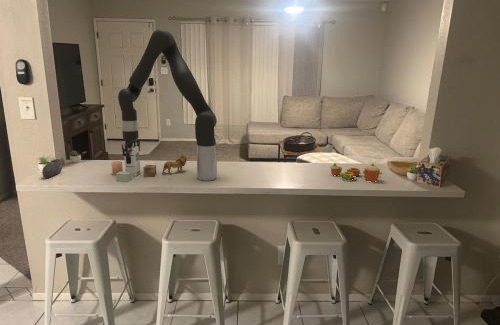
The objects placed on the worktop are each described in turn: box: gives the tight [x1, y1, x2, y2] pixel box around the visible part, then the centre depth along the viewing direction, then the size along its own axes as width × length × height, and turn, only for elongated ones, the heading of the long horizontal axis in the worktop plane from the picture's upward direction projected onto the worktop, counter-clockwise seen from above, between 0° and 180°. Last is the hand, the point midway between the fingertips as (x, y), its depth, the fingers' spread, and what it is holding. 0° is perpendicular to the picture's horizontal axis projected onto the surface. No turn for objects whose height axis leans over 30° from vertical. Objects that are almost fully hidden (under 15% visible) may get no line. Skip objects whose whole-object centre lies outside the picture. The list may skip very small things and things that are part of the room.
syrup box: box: [123, 146, 141, 177], centre depth 181 cm, size 6×6×14 cm
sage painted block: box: [115, 170, 133, 183], centre depth 172 cm, size 6×4×4 cm, turn 80°
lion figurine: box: [161, 154, 188, 175], centre depth 186 cm, size 15×5×9 cm, turn 131°
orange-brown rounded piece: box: [111, 160, 124, 176], centre depth 182 cm, size 5×5×6 cm
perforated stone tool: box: [41, 158, 63, 179], centre depth 177 cm, size 15×5×7 cm, turn 179°
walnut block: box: [142, 164, 157, 178], centre depth 181 cm, size 5×5×5 cm
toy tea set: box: [329, 162, 383, 182], centre depth 185 cm, size 26×16×10 cm, turn 84°
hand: (132, 161), depth 181 cm, fingers closed on syrup box, 6 cm apart
